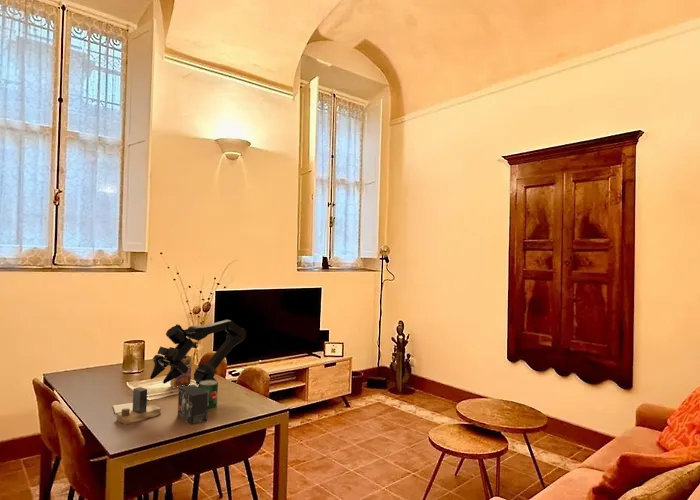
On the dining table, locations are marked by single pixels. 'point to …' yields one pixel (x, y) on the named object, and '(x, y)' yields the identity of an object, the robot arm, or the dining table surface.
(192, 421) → the small box
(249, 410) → the dining table surface
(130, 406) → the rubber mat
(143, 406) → the lever cap
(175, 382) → the candy box
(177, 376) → the robot arm
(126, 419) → the plane body
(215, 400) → the canned tomato
